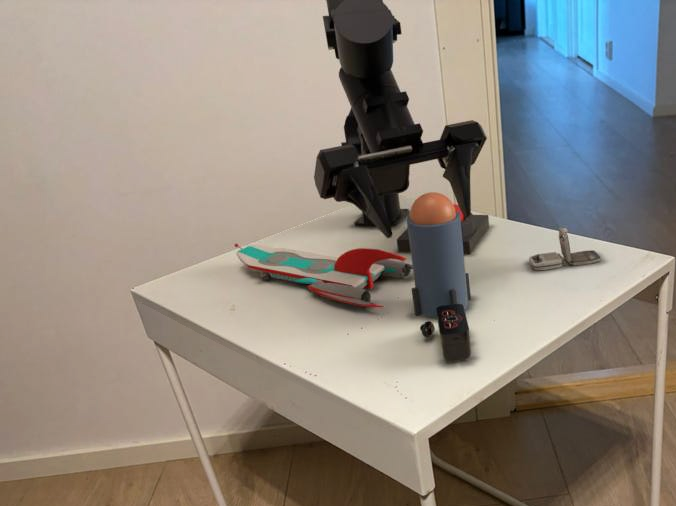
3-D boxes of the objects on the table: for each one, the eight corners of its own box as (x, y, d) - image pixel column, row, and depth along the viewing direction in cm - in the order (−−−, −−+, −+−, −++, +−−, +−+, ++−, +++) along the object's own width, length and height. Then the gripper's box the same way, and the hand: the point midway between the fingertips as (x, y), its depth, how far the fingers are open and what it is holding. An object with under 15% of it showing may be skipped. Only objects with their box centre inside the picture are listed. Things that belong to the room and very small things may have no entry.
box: (422, 225, 103) (419, 202, 101) (489, 227, 100) (487, 202, 99) (398, 252, 95) (394, 227, 93) (470, 254, 92) (468, 228, 90)
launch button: (441, 216, 96) (440, 203, 95) (466, 217, 95) (465, 204, 94) (433, 225, 93) (431, 213, 92) (459, 226, 92) (458, 213, 92)
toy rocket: (403, 304, 81) (387, 192, 74) (456, 288, 83) (445, 179, 77) (428, 327, 76) (413, 209, 69) (484, 309, 78) (475, 194, 72)
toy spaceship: (205, 297, 91) (192, 259, 88) (265, 263, 99) (254, 227, 97) (384, 313, 78) (374, 269, 76) (434, 273, 87) (426, 232, 84)
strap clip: (533, 272, 86) (532, 238, 84) (527, 262, 89) (526, 230, 86) (601, 262, 87) (602, 229, 85) (593, 253, 90) (594, 221, 87)
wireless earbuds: (464, 327, 75) (461, 299, 73) (472, 361, 69) (469, 331, 67) (420, 333, 75) (416, 305, 73) (424, 367, 69) (420, 338, 67)
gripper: (437, 131, 90) (484, 240, 87) (292, 160, 83) (339, 279, 80) (459, 72, 80) (514, 193, 77) (297, 99, 73) (350, 233, 70)
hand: (430, 226), depth 76 cm, fingers open, 9 cm apart
